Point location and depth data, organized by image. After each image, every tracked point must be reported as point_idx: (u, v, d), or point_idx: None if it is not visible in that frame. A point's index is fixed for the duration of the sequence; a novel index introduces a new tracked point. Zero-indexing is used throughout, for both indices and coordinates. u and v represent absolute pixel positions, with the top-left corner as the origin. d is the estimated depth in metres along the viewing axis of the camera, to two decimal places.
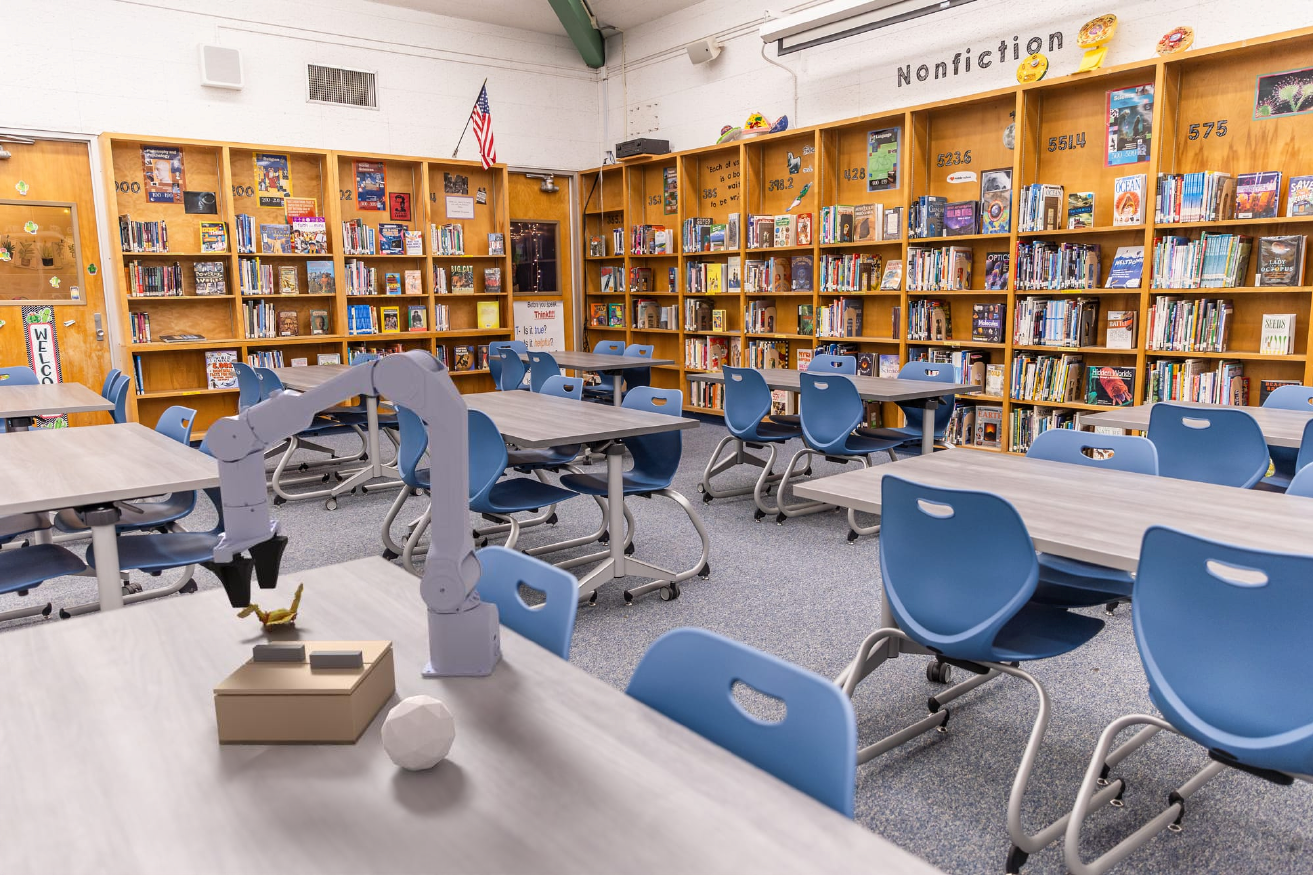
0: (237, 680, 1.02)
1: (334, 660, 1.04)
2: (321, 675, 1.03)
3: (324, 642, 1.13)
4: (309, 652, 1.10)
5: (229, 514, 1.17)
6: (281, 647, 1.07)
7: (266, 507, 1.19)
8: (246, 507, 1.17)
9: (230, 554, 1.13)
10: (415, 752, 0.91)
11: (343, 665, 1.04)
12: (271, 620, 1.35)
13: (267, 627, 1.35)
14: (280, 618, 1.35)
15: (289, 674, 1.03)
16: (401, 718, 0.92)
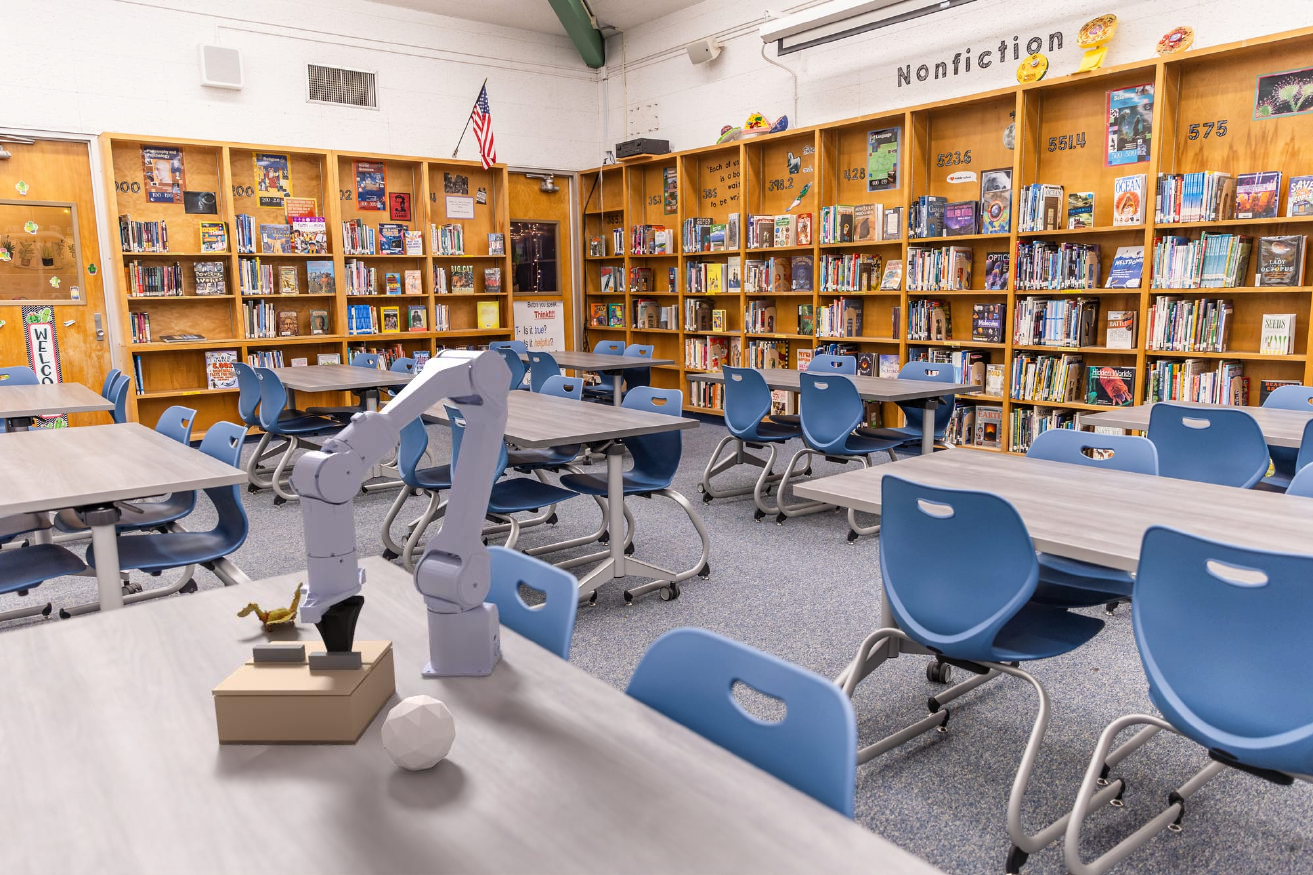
0: (235, 681, 1.02)
1: (333, 661, 1.04)
2: (320, 676, 1.03)
3: None
4: (309, 652, 1.10)
5: (315, 565, 1.02)
6: (281, 647, 1.07)
7: (355, 556, 1.04)
8: (334, 557, 1.02)
9: (319, 613, 0.98)
10: (415, 752, 0.91)
11: (342, 666, 1.04)
12: (271, 619, 1.35)
13: (267, 626, 1.35)
14: (280, 617, 1.36)
15: (288, 675, 1.03)
16: (401, 719, 0.92)
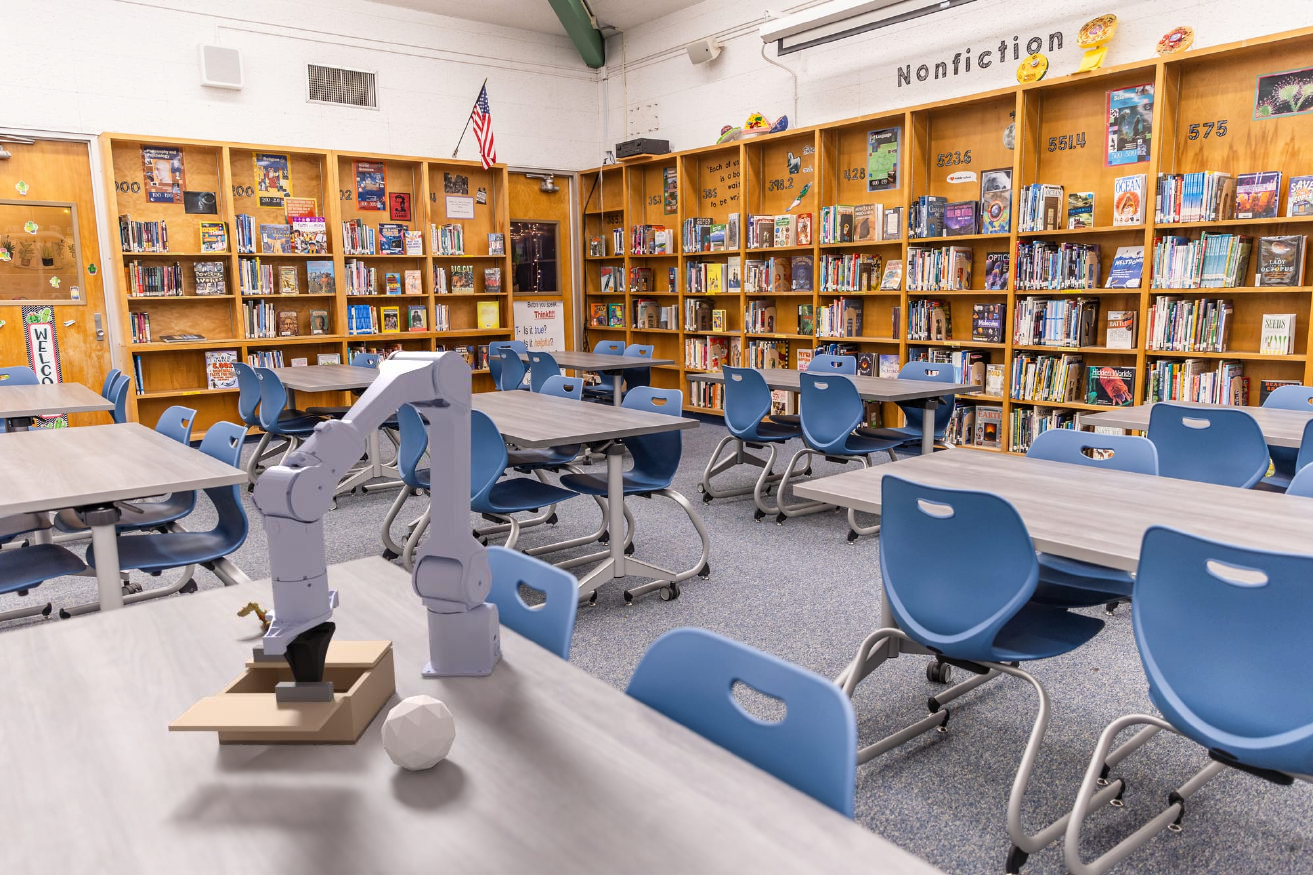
0: (195, 715, 0.93)
1: (302, 693, 0.96)
2: (287, 709, 0.94)
3: None
4: None
5: (280, 590, 0.93)
6: None
7: (325, 580, 0.96)
8: (302, 582, 0.93)
9: (284, 644, 0.90)
10: (415, 752, 0.91)
11: (312, 698, 0.96)
12: None
13: (267, 626, 1.35)
14: None
15: (252, 708, 0.95)
16: (401, 719, 0.92)
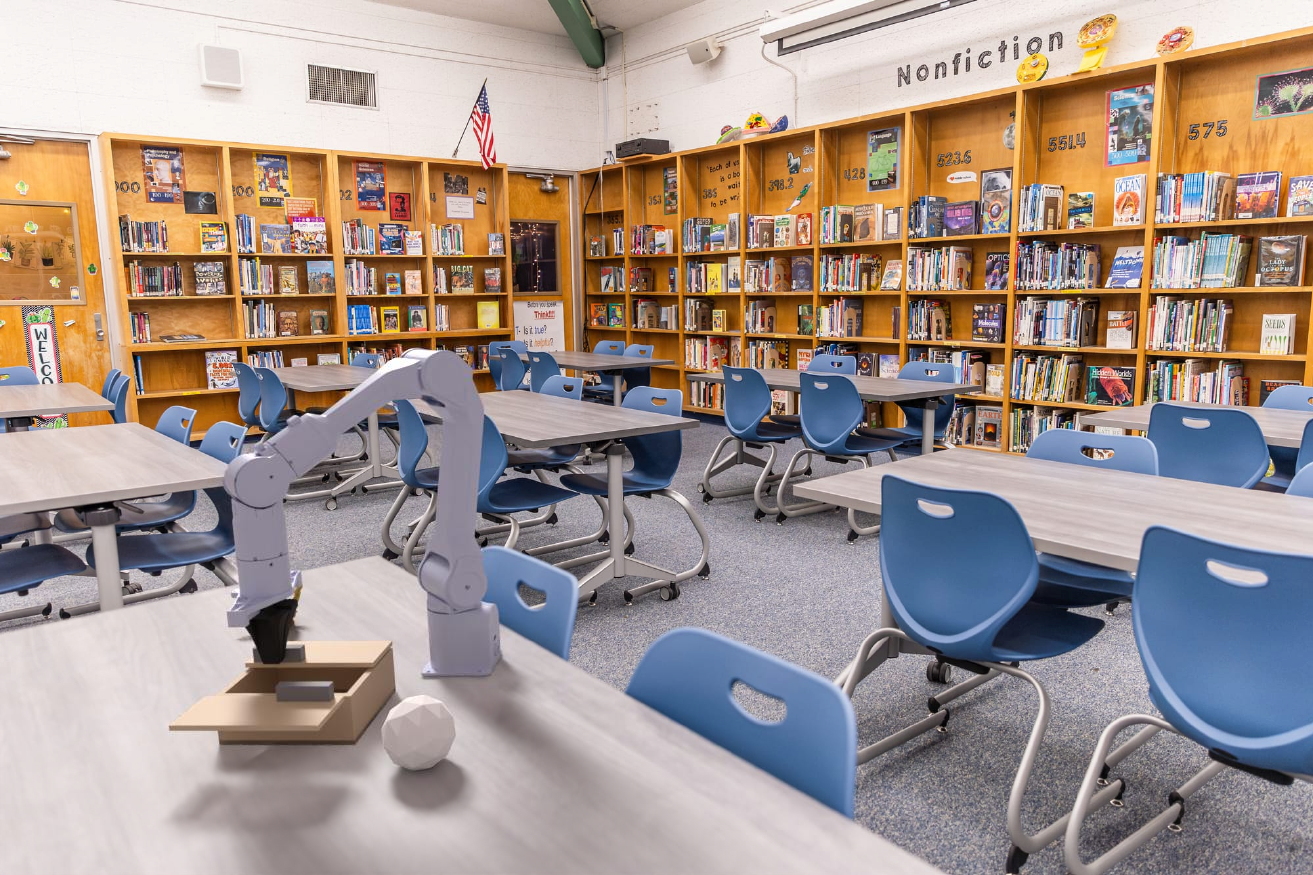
0: (195, 715, 0.94)
1: (303, 692, 0.96)
2: (288, 709, 0.94)
3: (324, 642, 1.13)
4: (309, 652, 1.10)
5: (244, 569, 1.01)
6: None
7: (287, 560, 1.04)
8: (264, 561, 1.01)
9: (246, 617, 0.98)
10: (415, 752, 0.91)
11: (312, 697, 0.96)
12: None
13: None
14: None
15: (253, 708, 0.95)
16: (401, 718, 0.92)
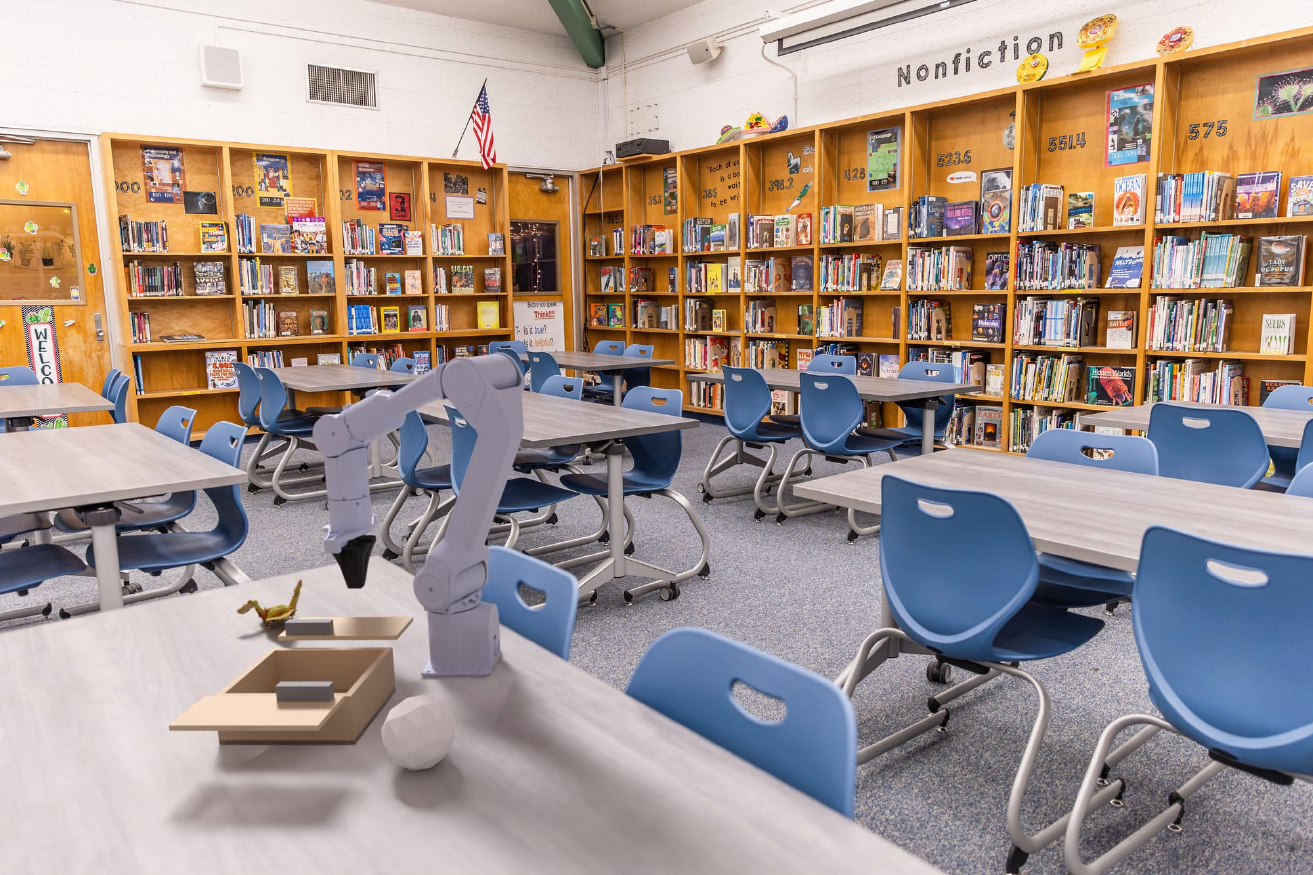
0: (195, 715, 0.94)
1: (303, 692, 0.96)
2: (288, 709, 0.94)
3: (350, 618, 1.21)
4: (336, 627, 1.18)
5: (335, 507, 1.22)
6: (311, 622, 1.15)
7: (368, 501, 1.25)
8: (352, 501, 1.22)
9: (339, 545, 1.19)
10: (415, 752, 0.91)
11: (312, 697, 0.96)
12: (270, 616, 1.36)
13: (266, 623, 1.36)
14: (279, 614, 1.37)
15: (253, 708, 0.95)
16: (401, 719, 0.92)
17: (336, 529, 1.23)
